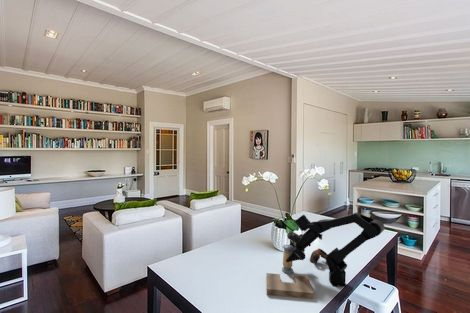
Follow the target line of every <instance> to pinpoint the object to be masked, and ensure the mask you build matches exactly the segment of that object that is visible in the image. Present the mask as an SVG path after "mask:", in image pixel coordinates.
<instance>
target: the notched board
mask: <svg viewBox="0 0 470 313" xmlns="http://www.w3.org/2000/svg"><path fill="white" fill-rule="evenodd" d="M293 278H294V279H293V280H294V282H289V281H287V282H285V281H281V274H279V273H268V272H266V279H265V280H266V282H265V283H266V295H268V296H276V297H277V296H278V297H288V298H289V297H290V298H300V299H301V298H302V299H311V300H314V298H315V293H314V290H313V287H312V283H311V281H310V278H309V276H306V275H295V274H294V277H293Z"/></svg>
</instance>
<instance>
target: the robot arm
mask: <svg viewBox="0 0 470 313" xmlns="http://www.w3.org/2000/svg"><path fill="white" fill-rule="evenodd" d="M293 223H294V224H295V225H296V226H297V227H298V228H299V230H300V231H301V232H303V231H304V233H299V234H298V233H296V232H295V231H292V230H289V231H288V233H287V235H286V236H287V239H288V240H289V245H291V246H293V249H292V253H291V255H290V256H289V257H288V258H287V259H286V262H291V261H292V262H294V261H296V262H297V261H304V260H305V259H306V253H305V251H306V248H307V247H311V246H312V243H313V242H314V241H315V240H317V239H318V238H319V240H323V233H324V232H326V231H329V230H331V229H334V228H337V227H342V226H346V225H350V224H353V223H354V224H356V225H358V226H359V227H360V228H361V229H362V230H361V232H360V233H359V234H358V235H357V236H355V238H353V239H352V240H351V241H349V242H348V243H347V244H345V245H344V246H343V247H341V248H340V249H339V247H335V248H334V249H333V250H331V251H330V252H329V253H327V254H328V255H327V256H328V257H327V258H326V260H325V264H326V263H327V264H326V265H327V267H328V280H329V282H330V285H331V286H333V287H347V283H346V274H347V273H346V271H345V270H346V269H347V267H348V264H347V262H345V259H346V258H347V257H348V255H349V254H351V253H352V252H354V251H356V249H358V248H359V247H360V246H361V245H363V244H364V243H365V242H367V241H369V240H371V239H374V238H376V237H379V235H381V233H383V232H384V231H385V225H384V222H382V220H379V219H374V218H372V217H369V216H366V215H363V214H362V213H359V212H354V213H352V214H347V215H343V216H339V217H336V218H332V219H331V218H330V219H328V218H326V219H319V220H317V221H310V220H309V219H308V217H307V216H306V215H305V214H302V215H301V216H300V217H298V218H297V219H296V220H295V221H294V222H293Z"/></svg>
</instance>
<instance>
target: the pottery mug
mask: <svg viewBox="0 0 470 313" xmlns="http://www.w3.org/2000/svg"><path fill="white" fill-rule="evenodd" d="M328 254H329V253H327V252H326V251H324V250H323V249H321V248H317V249H315V250H313V251H312V252H311V254H310V257H309V261H310V262H311V263H314V264H318V261H319V260H320V259H321V258H322V259H324V260H325V261H326V258H327V257H328V256H327V255H328ZM325 265H327V263H326V262H325Z"/></svg>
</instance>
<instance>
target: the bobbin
mask: <svg viewBox="0 0 470 313" xmlns="http://www.w3.org/2000/svg"><path fill="white" fill-rule="evenodd" d="M282 249H283V252H282V253H283V254H282V268H281V271H282V272H283V274H284V273H285V274H293V272H294V269H293V261H291V262H286V259H287V258H288V257H289V256H290V255H291V253H292V249H293V246H291V245H290V244H283V245H282Z"/></svg>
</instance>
